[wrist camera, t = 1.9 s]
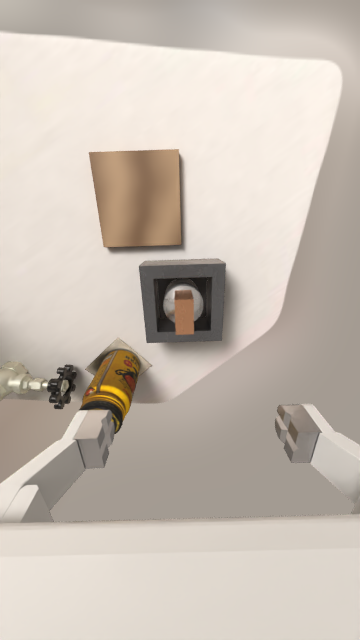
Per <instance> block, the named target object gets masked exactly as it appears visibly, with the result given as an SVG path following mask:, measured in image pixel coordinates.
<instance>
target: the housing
mask: <svg viewBox="0 0 360 640" xmlns="http://www.w3.org/2000/svg"><path fill="white" fill-rule="evenodd" d="M225 268H226V263H224V262H223V261H221V260H220V259H190V260H159V261H144V262H143V263H142V264H141V265H140V266H139V272H140V281H141V291H142V301H143V311H144V321H145V331H146V341H147V343H160V342H190V341H221V340H222V328H223V308H224V288H225ZM190 277H207V291H206V317H199V318H198V319H197V320H195V321H194V334H186V335H176V328H175V322H173V321H171V320H170V319H169V318H160V310H159V296H158V282H157V279H160V278H190Z"/></svg>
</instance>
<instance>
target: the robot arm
mask: <svg viewBox="0 0 360 640" xmlns="http://www.w3.org/2000/svg"><path fill="white" fill-rule="evenodd" d="M277 412H278V414H279V415H278V416H277V418H276V419H275V428H276V432H277V435H278V437H279V439H280V440H281V441H282V442H283V443H285V446H284V449H285V451H286V453H287V455H288V457H289V459H290V461H291V463H311V464H312V466H314V467H315V468H316V469H317V470H318V471H319V472H320V473H321V474H322V475H323V476H324V477H326V478H327V479H328V480H329V481H330V482H331V483H332V484H333V485H334V486H335V487H337V488H338V489H339V490H340V491H341V492H342V493H343V494H344V495H345V496H346V497H347V498H348V499H350V500H351V501H352V502H353V503H354V504H355V506H354V508H353V510H352V512H351V514H343V515H307V516H306V515H304V516H266V517H229V518H228V517H227V518H189V519H153V520H114V521H73V522H54V521H53V519H52V516H51V514H50V512H49V511H50V510H51V508H52V507H53V506H54V505H55V504H56V503H57V502H58V500H59V499H60V498H61V497H62V496H63V495H64V493H65V492H66V491H67V490H68V489H69V488H70V487H71V486H72V484H73V483H74V482H75V481H76V480H77V479H78V478H79V477H80V475H81V474H82V473H83V472H84V471H85V469H89V468H104V467H105V464H106V461H107V458H108V455H109V451H108V447H109V446H110V445H111V444H112V442H113V439H114V432H115V428H114V423H113V422H112V421H111V418H112V412H111V410H79V411H78V412H77V413H76V415H75V416H74V418H73V420H72V421H71V423H70V425H69V427H68V428H67V430H66V432H65V434H64V436H63V437H62V439H61V440H57V441H56V442H55V443H53V444H52V445H51V446H50V447H48V448H47V449H46V450H44V451H43V452H41V453H40V454H39V455H38V456H36V457H35V458H33V459H32V460H31V461H29V462H28V463H27V464H26V465H24V466H23V467H22V468H20V469H19V470H18V471H16V472H15V473H14V474H12V475H11V476H10V477H8V478H7V479H6V480H4V481H3V482H2V483H0V640H360V445H358V444H357V443H355V442H354V441H352V440H350V439H349V438H347V437H345V436H344V435H342V434H340V433H339V432H334V430H333V429H332V428H331V426H330V425H329V424H328V423H327V422H326V420H325V419H324V418H323V417H322V416H321V414H320V413H319V412H318V410H317V409H316V408H315V407H314V405H312V404H292V405H279V406H278V409H277Z"/></svg>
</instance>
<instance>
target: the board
mask: <svg viewBox="0 0 360 640" xmlns="http://www.w3.org/2000/svg"><path fill="white" fill-rule="evenodd" d="M89 156H90V163H91V169H92V175H93V182H94V188H95V194H96V201H97V207H98V213H99V220H100V226H101V232H102V239H103V245H104V247H125V246H155V245H181V217H180V179H179V149H175V150H144V151H114V152H89Z"/></svg>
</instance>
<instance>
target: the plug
mask: <svg viewBox="0 0 360 640" xmlns="http://www.w3.org/2000/svg"><path fill="white" fill-rule="evenodd" d="M163 308H164V312H165V314H166V316H167V317H168V318H169V319H170V320H171V321H173V322H175V328H176V335H186V334H194V321H195V320H197V319H198V318H199V316H200V315H201V313H202V311H203V299H202V296H201V294H200V291H199V289H198V287H197V285H196V284H195V283H194V282H193V281H192V280H190V279H187V278H178V279H175V280H173V281H172V282H171V283H170V284H169V285H168V287H167V289H166V292H165V297H164V303H163Z"/></svg>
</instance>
